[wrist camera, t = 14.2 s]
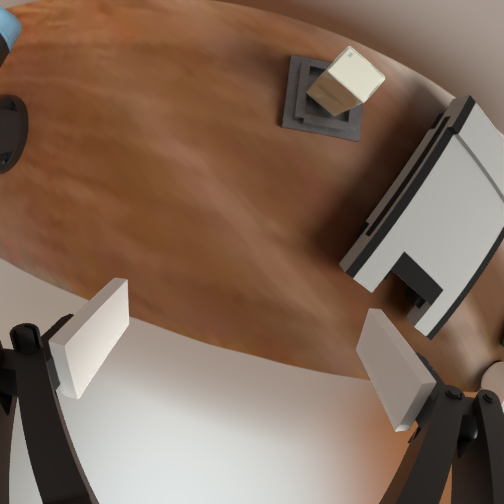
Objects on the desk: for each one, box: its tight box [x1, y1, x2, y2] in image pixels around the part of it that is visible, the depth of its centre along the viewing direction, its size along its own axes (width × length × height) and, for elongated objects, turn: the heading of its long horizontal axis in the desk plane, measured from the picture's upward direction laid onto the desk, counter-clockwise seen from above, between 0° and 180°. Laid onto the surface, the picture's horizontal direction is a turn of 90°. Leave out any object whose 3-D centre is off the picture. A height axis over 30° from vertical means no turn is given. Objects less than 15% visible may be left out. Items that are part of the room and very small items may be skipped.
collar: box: [281, 55, 363, 142], centre depth 37 cm, size 11×11×3 cm
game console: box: [339, 95, 504, 340], centre depth 39 cm, size 21×32×8 cm, turn 145°
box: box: [306, 46, 385, 116], centre depth 30 cm, size 5×4×11 cm
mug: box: [481, 362, 504, 412], centre depth 48 cm, size 12×9×11 cm
